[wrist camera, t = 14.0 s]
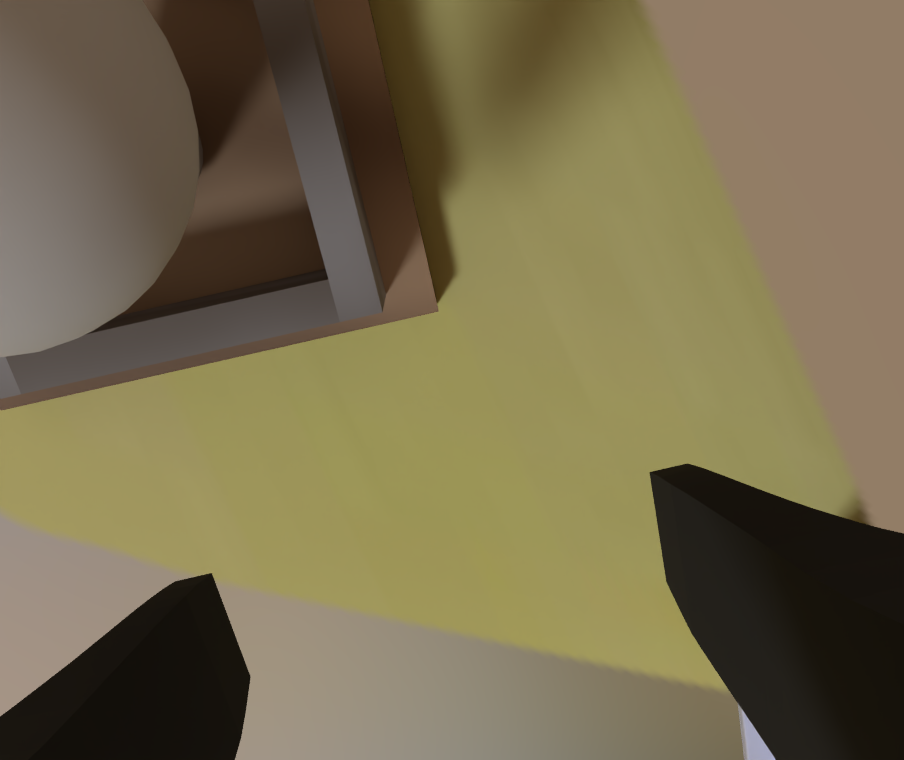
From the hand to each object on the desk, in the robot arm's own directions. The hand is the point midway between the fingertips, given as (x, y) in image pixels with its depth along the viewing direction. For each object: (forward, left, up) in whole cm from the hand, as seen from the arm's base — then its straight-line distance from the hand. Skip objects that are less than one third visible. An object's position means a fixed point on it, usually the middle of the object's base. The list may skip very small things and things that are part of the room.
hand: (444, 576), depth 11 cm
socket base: (+8, +5, -10) cm, 13 cm away
